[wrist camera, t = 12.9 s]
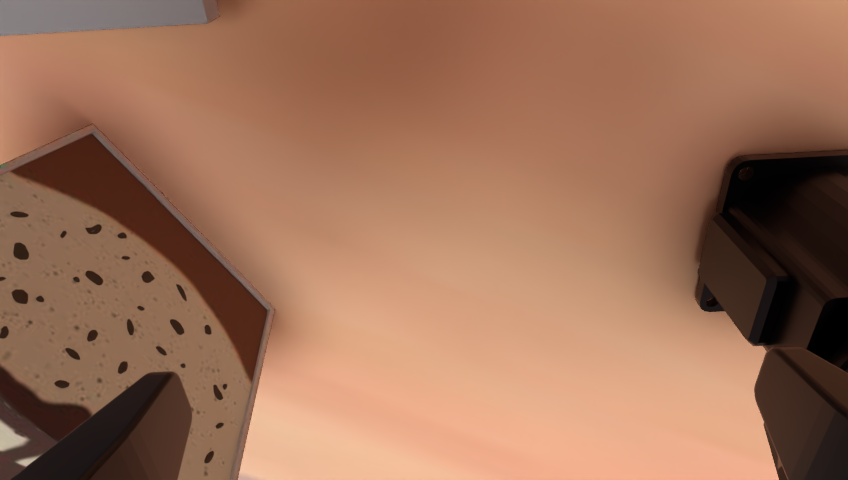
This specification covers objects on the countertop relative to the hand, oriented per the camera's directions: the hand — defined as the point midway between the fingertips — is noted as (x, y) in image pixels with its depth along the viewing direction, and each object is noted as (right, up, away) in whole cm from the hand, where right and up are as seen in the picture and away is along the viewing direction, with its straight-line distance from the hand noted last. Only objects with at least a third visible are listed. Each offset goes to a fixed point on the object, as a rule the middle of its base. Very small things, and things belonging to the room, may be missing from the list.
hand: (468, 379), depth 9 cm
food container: (-12, +1, +13) cm, 18 cm away
